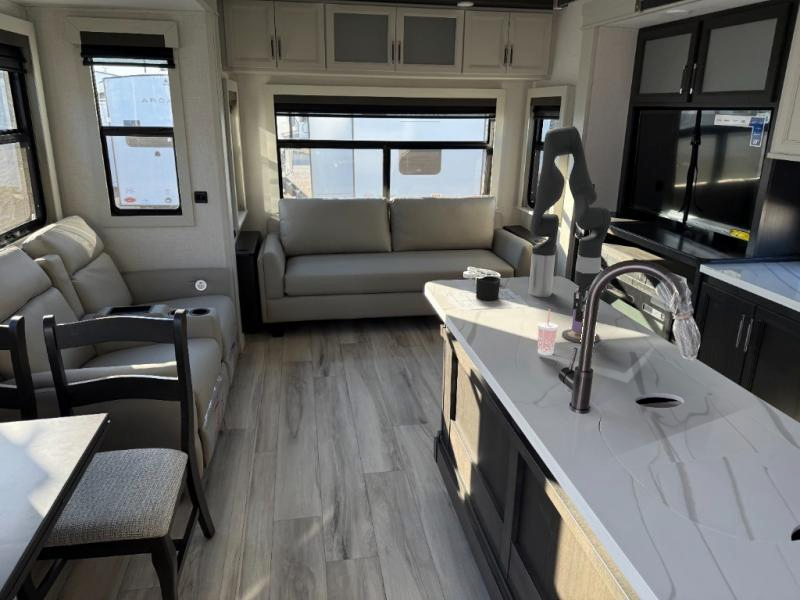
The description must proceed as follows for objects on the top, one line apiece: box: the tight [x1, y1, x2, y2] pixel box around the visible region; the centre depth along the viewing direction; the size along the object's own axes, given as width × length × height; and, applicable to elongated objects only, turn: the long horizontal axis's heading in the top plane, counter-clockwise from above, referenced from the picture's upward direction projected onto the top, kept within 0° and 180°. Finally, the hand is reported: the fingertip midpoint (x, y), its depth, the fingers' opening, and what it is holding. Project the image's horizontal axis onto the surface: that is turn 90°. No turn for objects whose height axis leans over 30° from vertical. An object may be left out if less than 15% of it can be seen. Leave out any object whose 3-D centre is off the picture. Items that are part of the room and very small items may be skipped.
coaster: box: [561, 328, 601, 344], centre depth 187 cm, size 12×12×1 cm
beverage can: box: [571, 286, 588, 334], centre depth 184 cm, size 6×6×15 cm
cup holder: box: [462, 266, 501, 281], centre depth 249 cm, size 20×11×7 cm, turn 23°
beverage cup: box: [537, 308, 559, 356], centre depth 171 cm, size 6×6×14 cm
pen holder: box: [475, 275, 501, 302], centre depth 224 cm, size 9×9×10 cm
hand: (582, 318), depth 185 cm, fingers closed on beverage can, 6 cm apart
